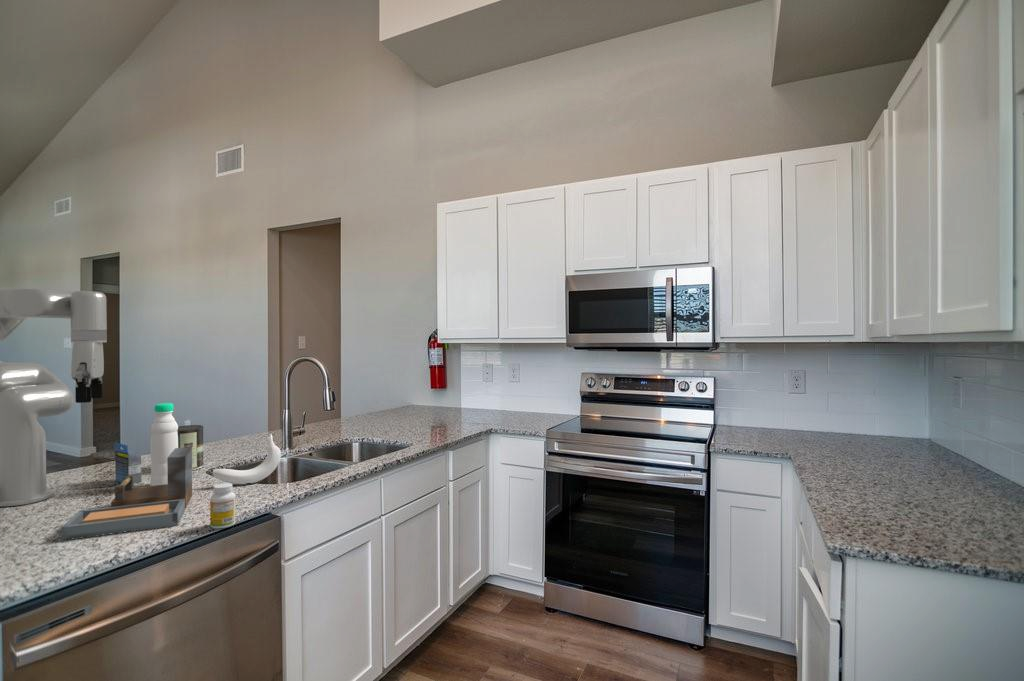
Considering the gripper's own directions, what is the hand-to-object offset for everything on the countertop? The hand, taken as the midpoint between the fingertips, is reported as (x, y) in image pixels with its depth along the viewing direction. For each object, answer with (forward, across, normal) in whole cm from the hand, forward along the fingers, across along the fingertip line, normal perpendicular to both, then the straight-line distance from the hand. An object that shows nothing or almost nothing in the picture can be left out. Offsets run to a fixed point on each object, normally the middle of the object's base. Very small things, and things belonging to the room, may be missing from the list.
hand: (89, 400), depth 139 cm
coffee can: (+28, -32, +18) cm, 46 cm away
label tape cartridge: (+29, -21, +4) cm, 36 cm away
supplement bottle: (+28, +32, +34) cm, 55 cm away
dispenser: (+28, +9, +16) cm, 34 cm away
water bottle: (+28, -12, +15) cm, 34 cm away
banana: (+28, -4, +38) cm, 48 cm away
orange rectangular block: (+27, +22, +13) cm, 37 cm away
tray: (+28, +22, +13) cm, 38 cm away
